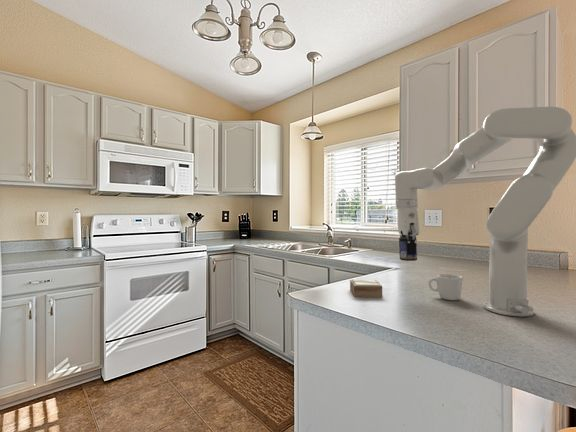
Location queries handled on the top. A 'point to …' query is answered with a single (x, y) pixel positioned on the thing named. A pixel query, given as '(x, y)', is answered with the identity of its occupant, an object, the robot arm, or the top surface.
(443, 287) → the cup
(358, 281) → the base block
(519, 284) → the robot arm
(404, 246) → the pill bottle
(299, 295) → the top surface
